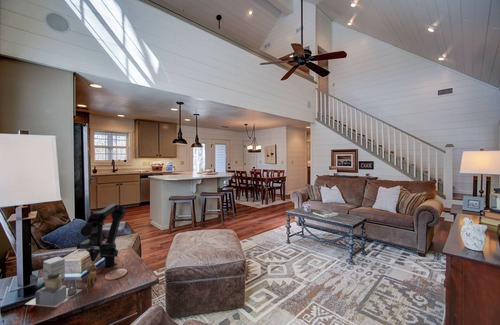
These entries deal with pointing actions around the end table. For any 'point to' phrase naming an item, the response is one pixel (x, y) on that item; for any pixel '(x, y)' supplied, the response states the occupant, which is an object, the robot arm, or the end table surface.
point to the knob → (53, 281)
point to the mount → (51, 297)
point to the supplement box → (54, 267)
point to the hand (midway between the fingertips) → (93, 261)
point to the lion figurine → (91, 274)
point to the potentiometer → (71, 291)
